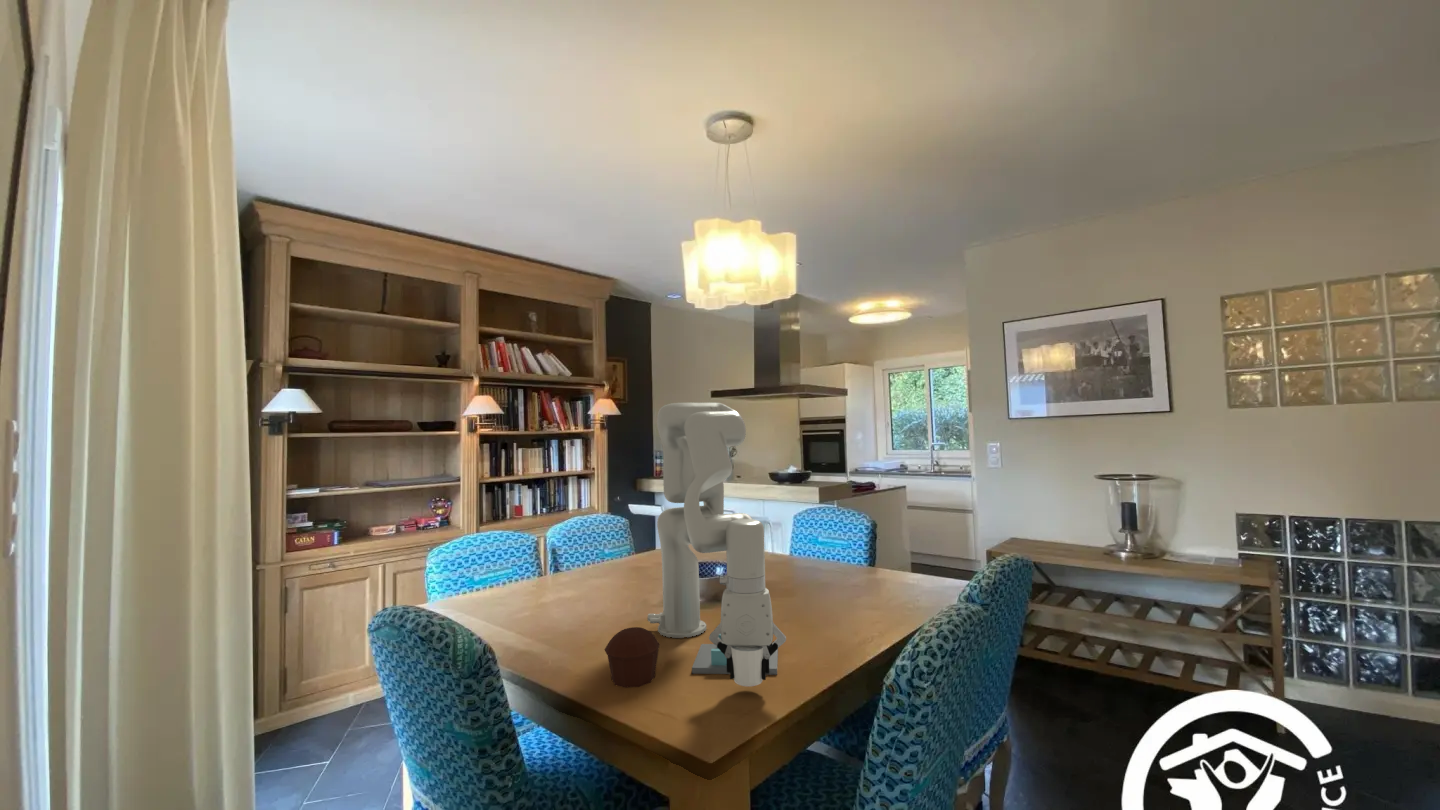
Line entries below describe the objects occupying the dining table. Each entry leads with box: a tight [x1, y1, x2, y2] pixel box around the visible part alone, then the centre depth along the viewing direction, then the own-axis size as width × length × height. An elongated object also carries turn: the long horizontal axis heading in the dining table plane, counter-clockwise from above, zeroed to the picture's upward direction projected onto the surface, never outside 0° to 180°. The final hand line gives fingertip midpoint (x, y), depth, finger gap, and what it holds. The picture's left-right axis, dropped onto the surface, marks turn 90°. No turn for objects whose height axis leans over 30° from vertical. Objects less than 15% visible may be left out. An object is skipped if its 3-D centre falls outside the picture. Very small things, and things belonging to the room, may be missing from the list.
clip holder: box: [691, 634, 779, 676], centre depth 129 cm, size 18×14×4 cm
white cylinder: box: [731, 646, 764, 687], centre depth 113 cm, size 7×7×7 cm
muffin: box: [604, 626, 661, 689], centre depth 121 cm, size 12×11×10 cm
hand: (748, 675), depth 113 cm, fingers closed on white cylinder, 5 cm apart
